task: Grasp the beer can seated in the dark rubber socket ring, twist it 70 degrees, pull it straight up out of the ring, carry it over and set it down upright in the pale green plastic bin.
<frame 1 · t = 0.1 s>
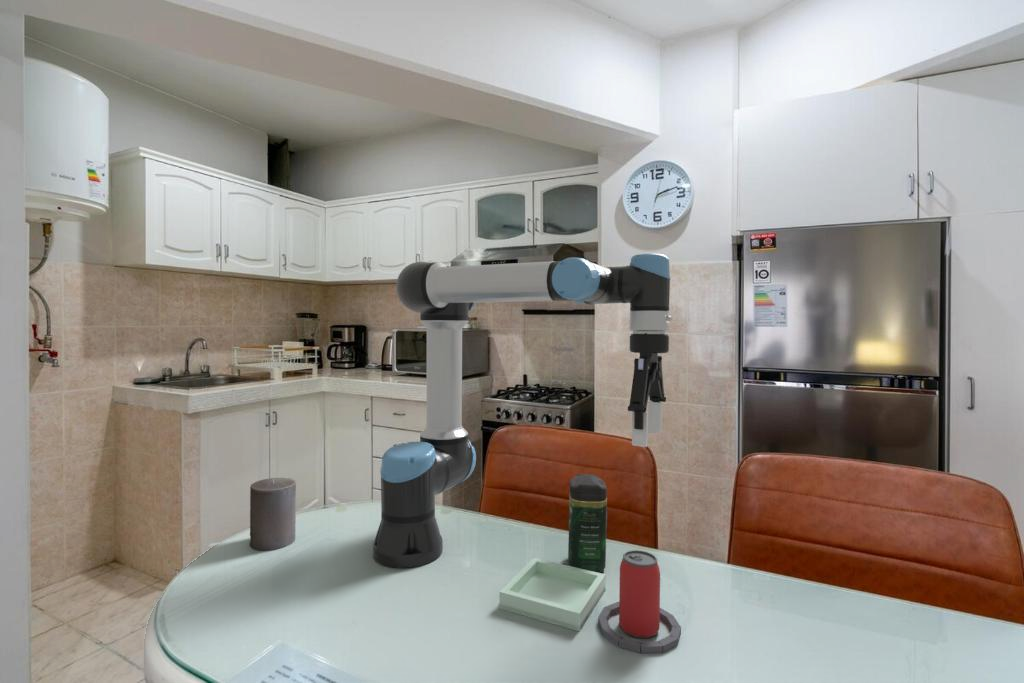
hand: (647, 439, 102), 28 cm above the table, fingers open, 13 cm apart
bin: (554, 598, 94), on the table
beer can: (638, 629, 85), resting in socket ring
socket ring: (638, 628, 85), on the table
coffee jar: (586, 565, 108), on the table
pillar candle: (273, 542, 118), on the table
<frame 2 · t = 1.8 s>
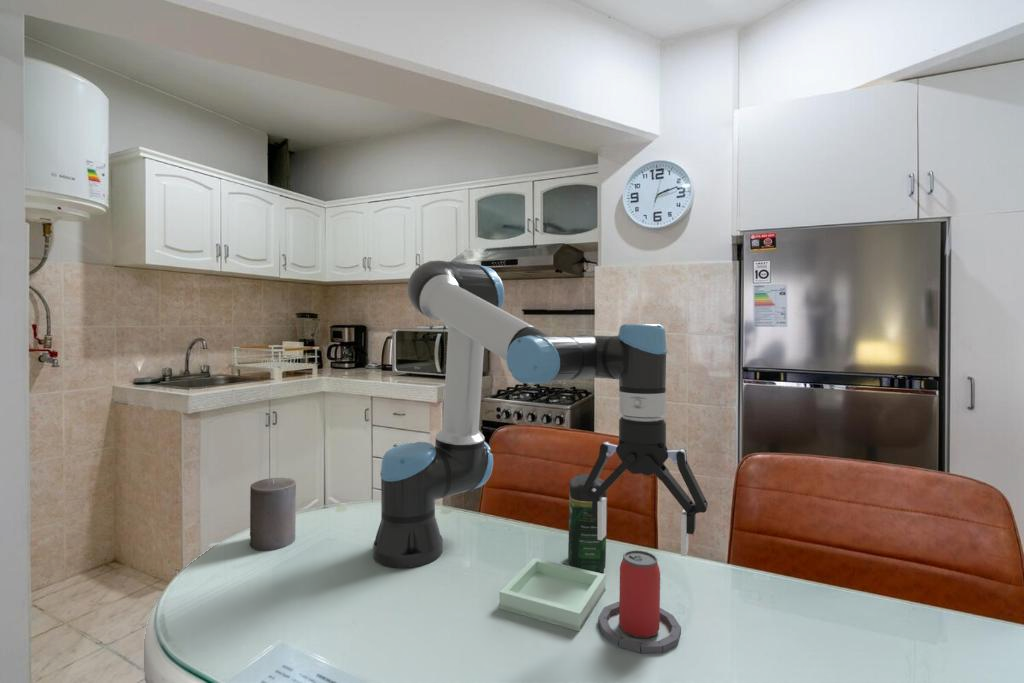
hand: (641, 544, 85), 14 cm above the table, fingers open, 13 cm apart
nothing on the table moved.
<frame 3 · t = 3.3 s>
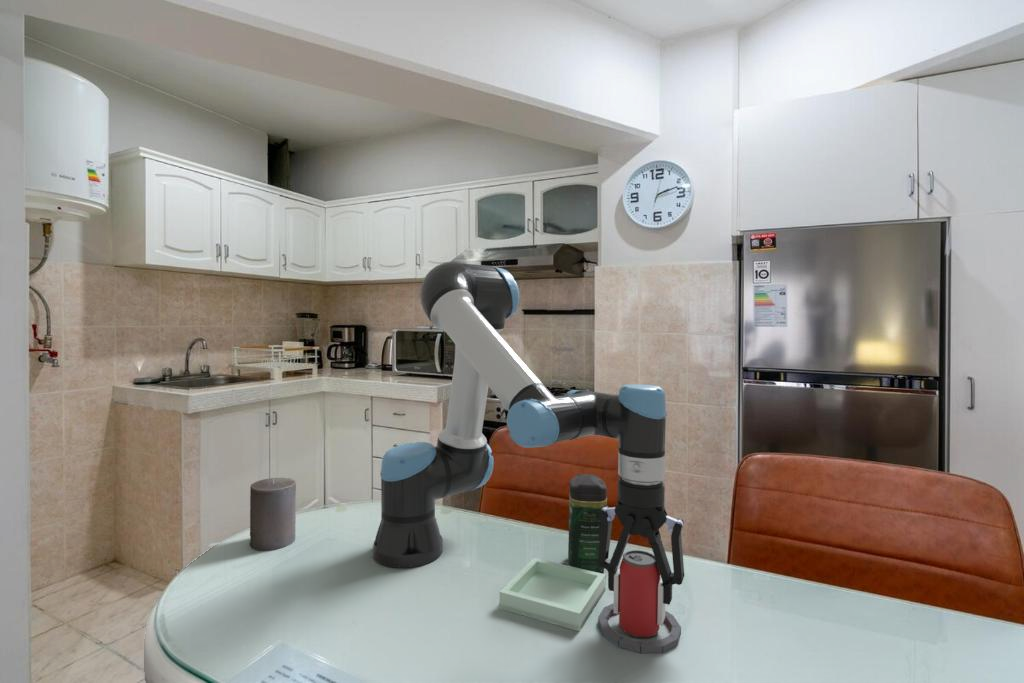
hand: (639, 615, 85), 2 cm above the table, fingers closed on beer can, 6 cm apart
beer can: (638, 629, 85), resting in socket ring, touching gripper
everything else where it was.
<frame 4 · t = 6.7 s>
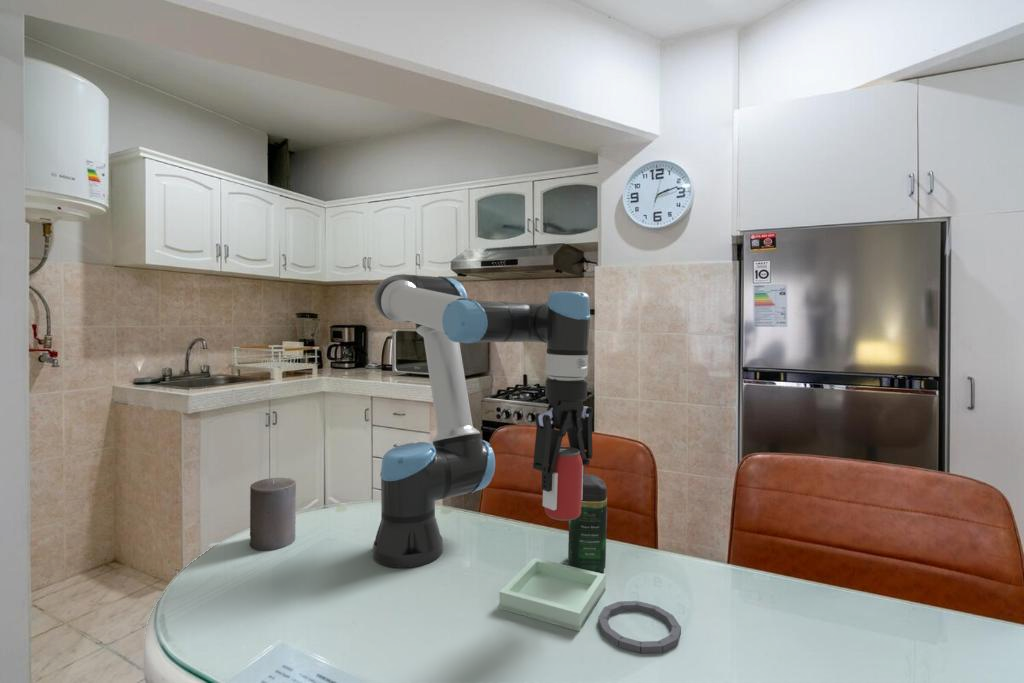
hand: (562, 502, 93), 18 cm above the table, fingers closed on beer can, 6 cm apart
beer can: (562, 516, 93), point 16 cm above the table, touching gripper
everything else where it was.
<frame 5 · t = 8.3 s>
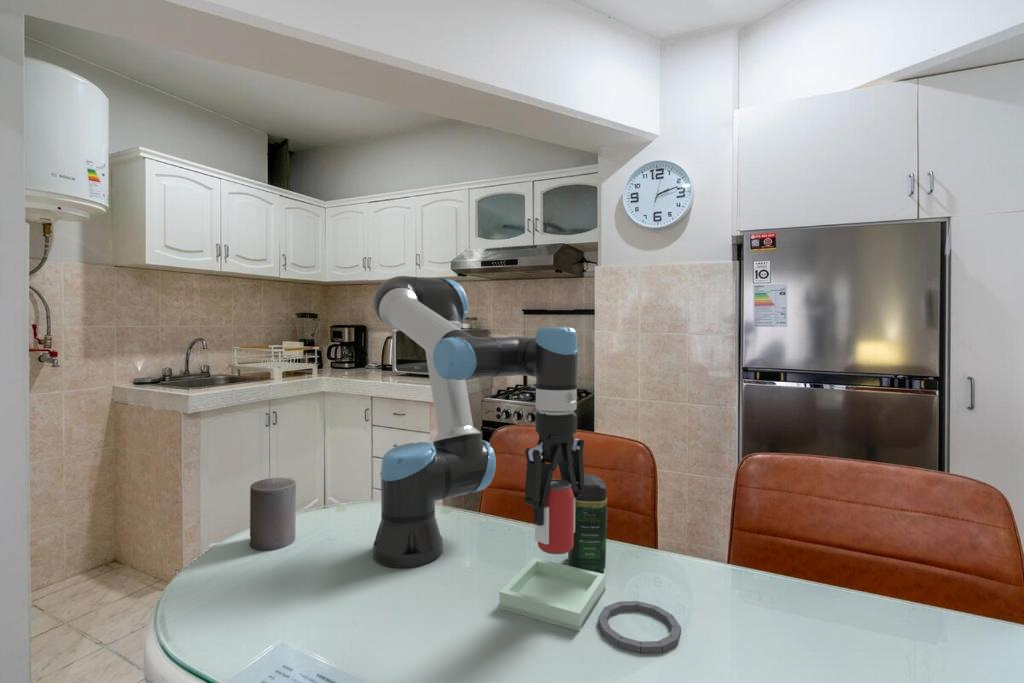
hand: (555, 535, 94), 12 cm above the table, fingers closed on beer can, 6 cm apart
beer can: (555, 549, 94), point 9 cm above the table, touching gripper
everything else where it was.
when the fingers open (5 cm above the table, at t = 9.9 s): beer can drops 2 cm, resting on bin.
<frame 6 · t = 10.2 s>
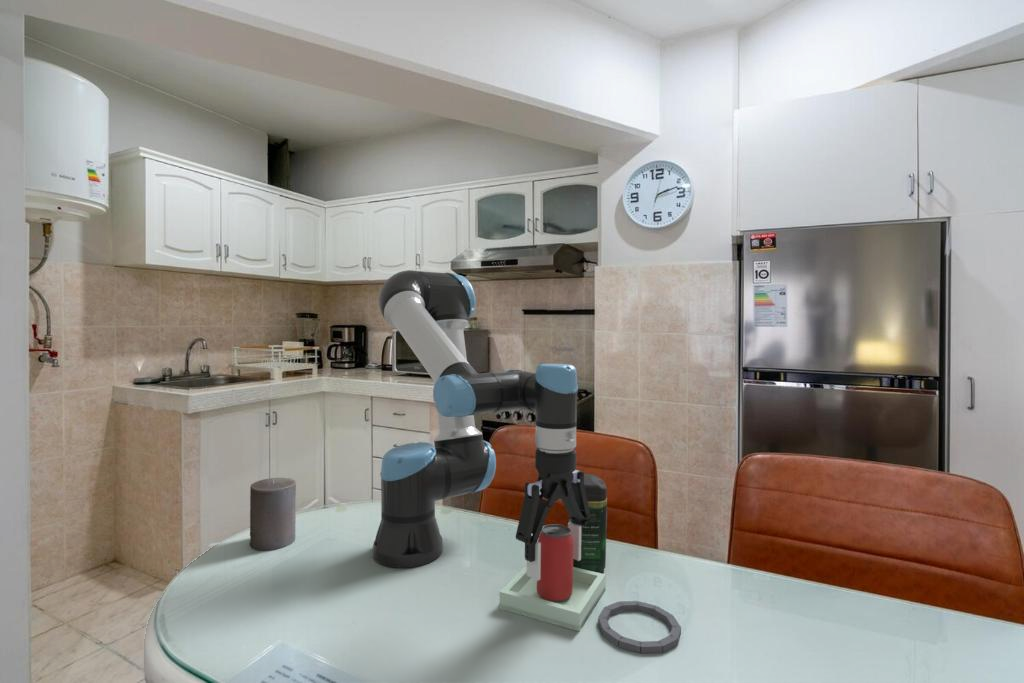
hand: (554, 567, 94), 6 cm above the table, fingers open, 10 cm apart
beer can: (554, 595, 94), point 1 cm above the table, touching bin
everything else where it was.
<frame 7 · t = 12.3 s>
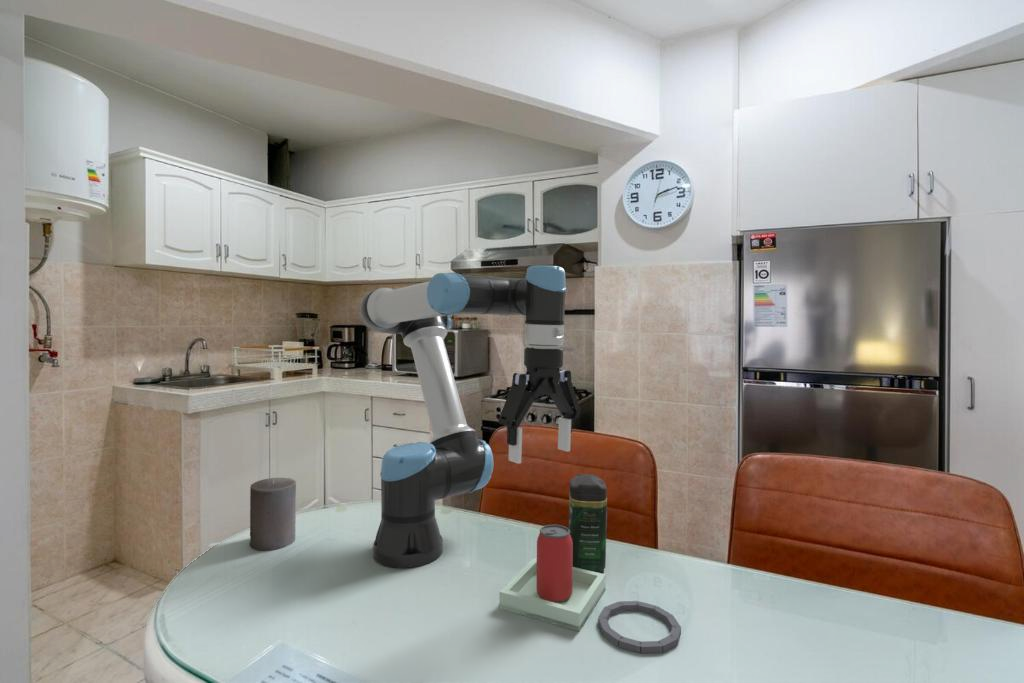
hand: (540, 455, 99), 25 cm above the table, fingers open, 13 cm apart
nothing on the table moved.
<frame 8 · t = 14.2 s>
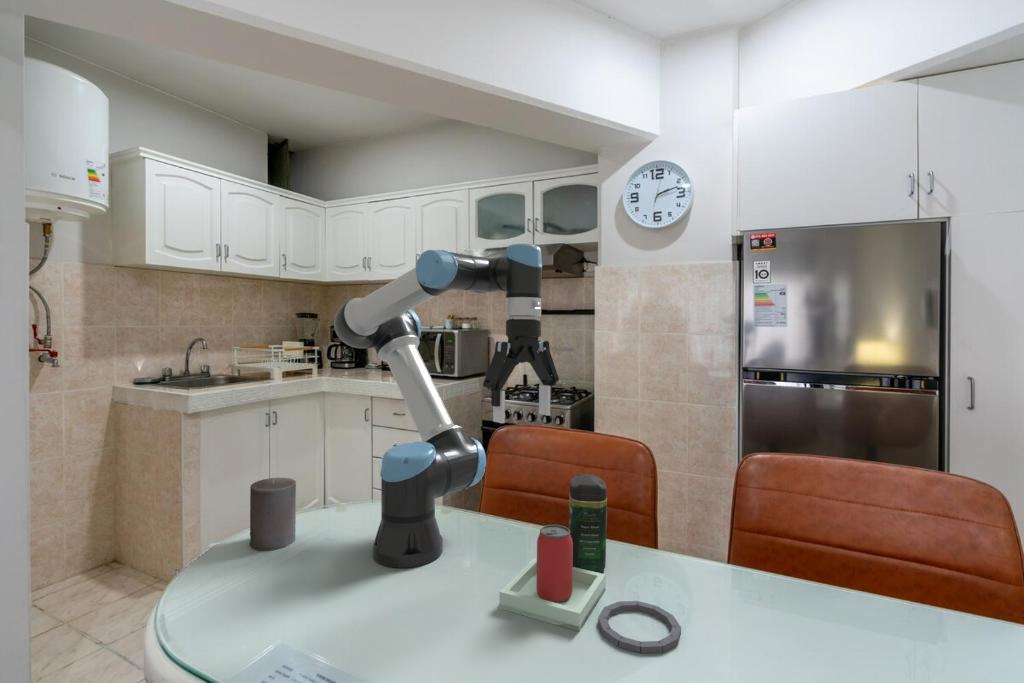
hand: (522, 418, 108), 31 cm above the table, fingers open, 13 cm apart
nothing on the table moved.
at the end: beer can inside the target area on the bin (0.0 cm from its centre), point 0.6 cm above the bin's base; beer can tilted 0°; the gripper is holding nothing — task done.
